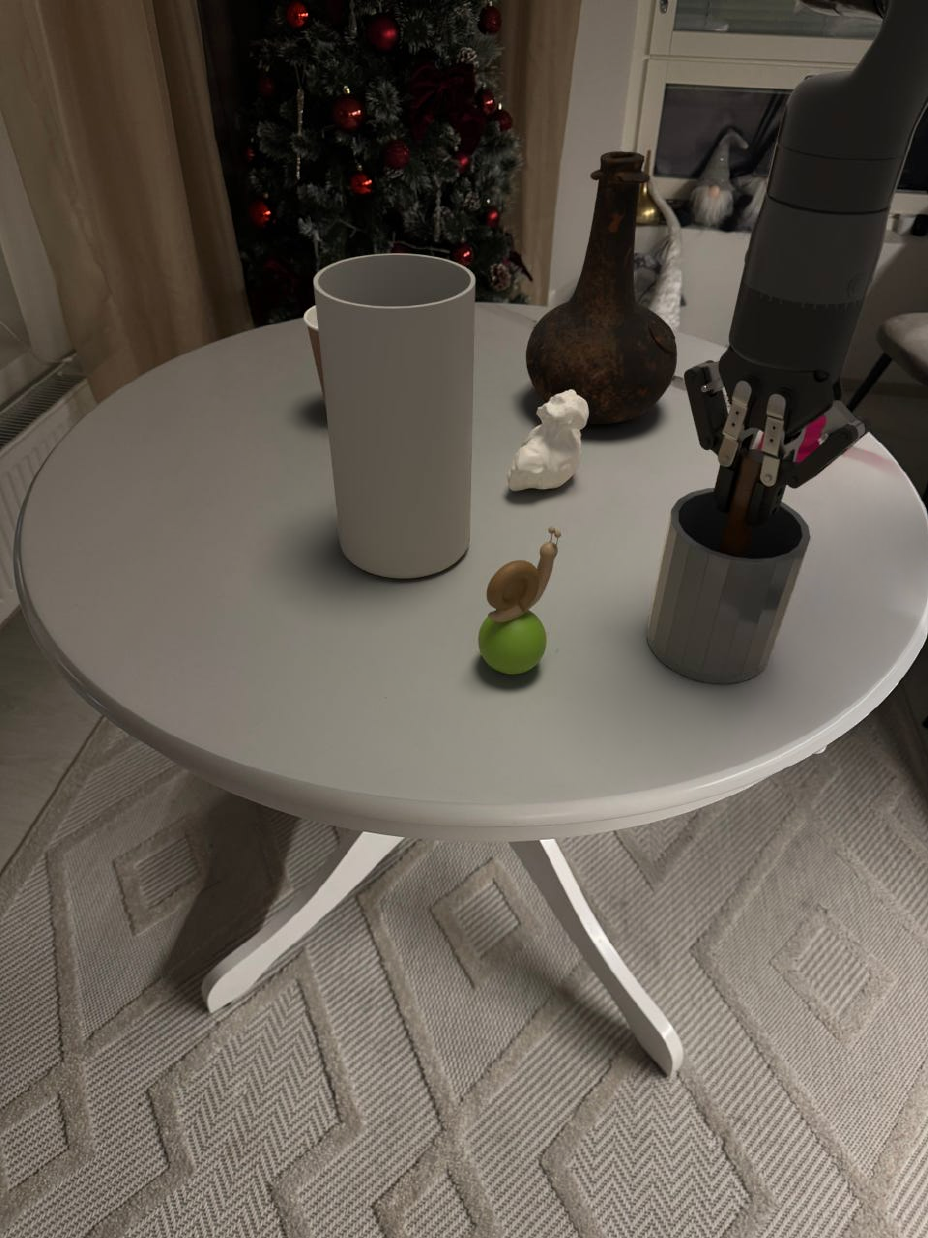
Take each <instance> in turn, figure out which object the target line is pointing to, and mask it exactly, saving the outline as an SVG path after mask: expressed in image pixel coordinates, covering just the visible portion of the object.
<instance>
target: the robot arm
mask: <svg viewBox="0 0 928 1238" xmlns="http://www.w3.org/2000/svg"><path fill="white" fill-rule="evenodd" d="M797 1H798V2H799V3H800V4H801V6H804V7H805V8H807V9H808V10H810V11H812V12H815V13H818V14H820V15H823V16H831V17H835V18H836V17H838V18H844V19H847V18H848V19H856V20H865V21H874V22H881V23H880V26H879V29H878V31H877V33H876V35H875V37H874V38H873V40H872V42H871V44H870V45H869V47H868V49H867V50H866V52H865V53H864V55H863V56H862V58H861V59H860V61H858V63H857V64H856V66H855V67H854V68H853V69H852V70H844V71H834V72H827V73H820V74H815V75H812V76H811V77H810V76H809V77H808V78H806V79H804V80H802V81H800V82H799V83H798V84H797V85H796V86H795V87H794V89H793V90H792V91H791V93H790V94H789V96H788V99H787V101H786V102H785V107H784V110H783V113H782V118H781V121H780V126H779V129H778V133H777V138H776V143H775V146H774V150H773V154H772V159H771V164H770V168H769V172H768V176H767V182H766V186H765V191H764V194H763V198H762V202H761V205H760V208H759V210H758V213H757V217H756V219H755V221H754V224H753V227H752V229H751V230H752V231H751V233H750V234H751V235H750V238H749V241H748V247H747V250H746V252H745V255H744V259H743V260H744V265H743V269H742V274H741V278H740V283H739V287H738V292H737V296H736V301H735V306H734V310H733V315H732V319H731V324H730V328H729V332H728V343H729V344H728V346H727V349H726V350H725V351H724V353H722V355H721V356H720V358H719V359H718V361H714V360H712V359H707V360H706V361H704V362H700V363H698V364H696V365H694V366H692V367H691V368H688V369H687V370H685V371H684V373H683V380H684V385H685V388H686V389H685V390H686V393H687V397H688V401H689V406H690V410H691V414H692V418H693V423H694V425H695V426H694V427H695V431H696V435H697V439H698V443H699V446H700V448H701V449H703V450H705V451H710V450H711V451H712V452H713V453H714V454H715V455H716V456H717V461H718V464H719V468H718V472H717V476H716V480H715V485H714V487H713V488H714V492H713V495H714V500H715V501H717V505H716V509H717V510H719V511H721V512H723V513H727V512H728V510H729V506H730V503H731V499H732V495H733V491H734V487H735V483H736V479H737V475H738V472H739V468H740V464H741V460H742V456H743V453H744V452H745V451H746V450H749V449H753V447H754V444H755V442H756V438H757V436H758V434H759V432H760V431H761V432H762V434H763V433H764V438H763V444H762V449H761V451H762V453H764V458H763V463H762V469H761V474H760V480H759V481H758V482H756V486H755V490H754V493H753V497H752V500H751V504H750V508H749V511H748V515H747V519H746V524H748V525H750V526H752V527H754V528H756V527H757V526H759V525H760V524H762V523H763V524H764V523H765V522H767V521H768V520H770V519H771V518H773V517H774V516H775V515H776V514H777V513H778V511H779V508H780V504H781V502H782V501H783V497H784V494H785V491H786V487H789V488H791V489H798V488H800V487H802V486H803V485H804V484H806V483H808V482H809V481H811V480H812V479H814V478H816V477H817V476H818V475H820V474H821V473H823V471H824V470H825V469H827V468H828V467H829V466H830V465H832V464H833V463H834V462H835V461H836V460H838V459H839V457H841V456H842V455H844V454H845V453H846V452H847V451H848V450H850V448H852V447H853V446H854V445H855V444H857V443H858V442H859V441H861V439H863V438H864V437H865V436H866V435H867V434H869V433H870V431H871V429H872V422H871V421H870V419H869V418H868V417H867V416H863V415H861V416H857V417H855V415H854V414H853V413H852V412H851V411H850V410H849V409H848V408H847V406H846V405H845V404H844V403H843V402H842V401H841V400H842V398H843V394H844V393H843V391H844V389H843V385H842V373H843V370H844V367H845V365H846V362H847V360H848V357H849V355H850V351H851V349H852V345H853V341H854V338H855V335H856V332H857V330H858V326H859V324H860V321H861V318H862V313H863V311H864V308H865V304H866V301H867V299H868V295H869V292H870V289H871V286H872V282H873V279H874V277H875V274H876V270H877V267H878V263H879V261H880V258H881V254H882V250H883V248H884V242H885V238H886V233H887V232H886V231H887V226H888V220H889V215H890V212H891V209H892V204H893V201H894V198H895V195H896V192H897V189H898V186H899V182H900V179H901V176H902V174H903V169H904V167H905V164H906V160H907V157H908V153H909V151H910V149H911V146H912V145H911V144H912V142H913V138H914V135H915V132H916V129H917V127H918V125H919V123H920V122H921V119H922V118H923V115H924V113H925V111H926V109H927V108H928V0H797ZM724 391H725V393H724ZM725 394H726V398H727V400H728V403H729V406H730V407H729V411H728V408H727V407H728V406H727V403H726V398H725ZM823 415H824V416H825V418H826V424H825V426H824V427H823V428H822V431H821V438H820V439H821V440H822V441H823V442H822V443H820V444H819V446H818V447H817V448H816V449H815V450H814V451H813V452H812V453H810V454H809V455H808V456H807V457H806V458H805V459H804V460H802V461H801V462H796V458H797V453H798V449H799V447H800V445H801V444H802V442H803V440H804V436H805V431H806V427H807V426H808V425H810V424H811V423H813V422H814V421H816V420H817V419H818V418H820V417H821V416H823Z"/></svg>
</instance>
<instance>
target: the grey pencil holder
mask: <svg viewBox="0 0 928 1238" xmlns="http://www.w3.org/2000/svg"><path fill="white" fill-rule="evenodd" d="M714 488H715V487H707V488H703V489H699V490H695V491H691V492H689V493H687V494H686V495H684V496H682V497H680V498H679V499H677V501H675V503H674V504H673V507H672V508H671V509H670V513H669V518H668V521H667V522H668V523H667V528H666V532H665V537H664V543H663V547H662V551H661V557H660V562H659V565H658V566H659V567H658V571H657V575H656V576H657V577H656V582H655V586H654V591H653V597H652V601H651V606H650V611H649V615H648V623H647V624H648V625H647V628H646V640H647V642H648V645H649V648H650V649H651V651H652V653H653V654H654V655H655V657H656V658H657V659H658V660H659V662H661V663H662V664H663V665H664V666H666V667H668V668H669V669H671V670H672V671H673V672H675V673H677V674H679V675H682V676H684V677H686V678H689V679H692V680H696V681H697V682H698V681H699V682H702V683H708V684H718V685H724V684H736V683H740V682H741V683H742V682H744V681H748V680H750V679H753V678H754V677H756V676H757V675H759V674H760V673H761V672H762V671H763V670H764V669H765V668H766V667H767V665H768V664H769V661H770V659H771V656H772V653H773V650H774V648H775V645H776V642H777V639H778V636H779V633H780V629H781V627H782V625H783V622H784V618H785V616H786V613H787V611H788V607H789V604H790V601H791V597H792V595H793V592H794V589H795V586H796V584H797V580H798V577H799V574H800V571H801V568H802V565H803V562H804V560H805V557H806V553H807V551H808V547H809V545H810V542H811V539H812V537H811V531H810V527H809V525H808V523H807V522H806V521H805V519H804V518H803V517H802V515H801V514H800V513H799V512H798V511H796V510H795V509H793V508H792V507H791V506H789V505H788V504H787V503H786V502H783V501H781V504H780V508H779V511H778V513H777V514H776V515H775V516H774V517H773V518H771V519H770V520H768V521H767V522H765V523H764V524H763V523H762V524H760V525H759V526H757V527H756V528H754V527H753V528H752V531H751V535H750V538H749V542H748V545H747V549H746V552H745V556H744V558H741V557H733V556H729V555H726V554H722V553H719V552H718V549H719V545H720V541H721V537H722V534H723V530H724V526H725V522H726V518H727V514H728V512H727V513H723V512H721V511H719V510H717V509H716V505H717V501H715V500H714V495H713V492H714Z"/></svg>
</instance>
